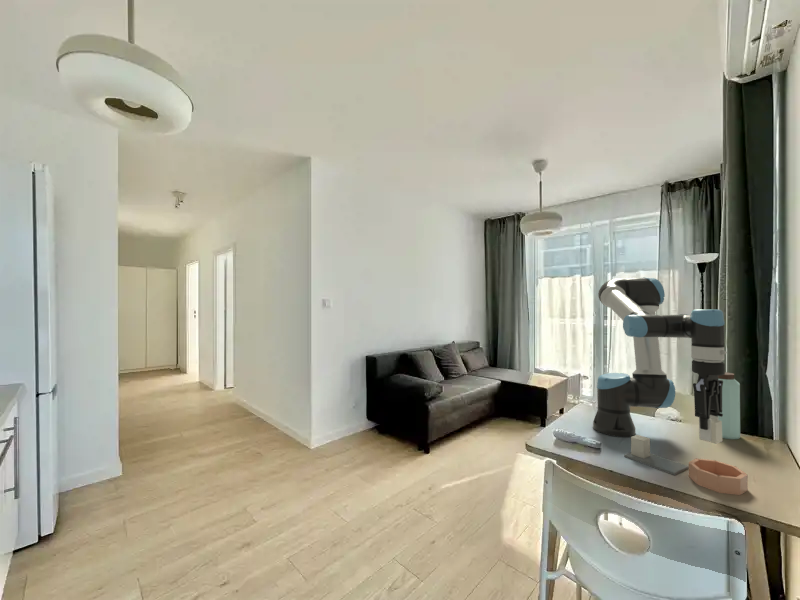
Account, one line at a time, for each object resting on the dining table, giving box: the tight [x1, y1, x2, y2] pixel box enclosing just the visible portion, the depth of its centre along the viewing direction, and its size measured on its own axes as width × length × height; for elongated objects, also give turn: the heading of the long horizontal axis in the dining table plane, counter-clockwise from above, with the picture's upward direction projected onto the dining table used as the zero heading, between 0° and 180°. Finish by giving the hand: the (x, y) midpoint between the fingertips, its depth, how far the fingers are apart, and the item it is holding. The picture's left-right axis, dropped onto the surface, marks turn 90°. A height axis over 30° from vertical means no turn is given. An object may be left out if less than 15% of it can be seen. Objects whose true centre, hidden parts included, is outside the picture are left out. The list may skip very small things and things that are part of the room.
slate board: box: [623, 451, 689, 476], centre depth 118 cm, size 15×9×1 cm, turn 29°
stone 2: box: [699, 418, 723, 444], centre depth 106 cm, size 4×4×6 cm
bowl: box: [688, 458, 749, 496], centre depth 105 cm, size 12×12×4 cm
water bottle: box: [718, 371, 741, 440], centre depth 140 cm, size 10×10×25 cm
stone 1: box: [630, 434, 651, 458], centre depth 122 cm, size 4×4×6 cm
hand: (709, 438), depth 106 cm, fingers closed on stone 2, 4 cm apart
